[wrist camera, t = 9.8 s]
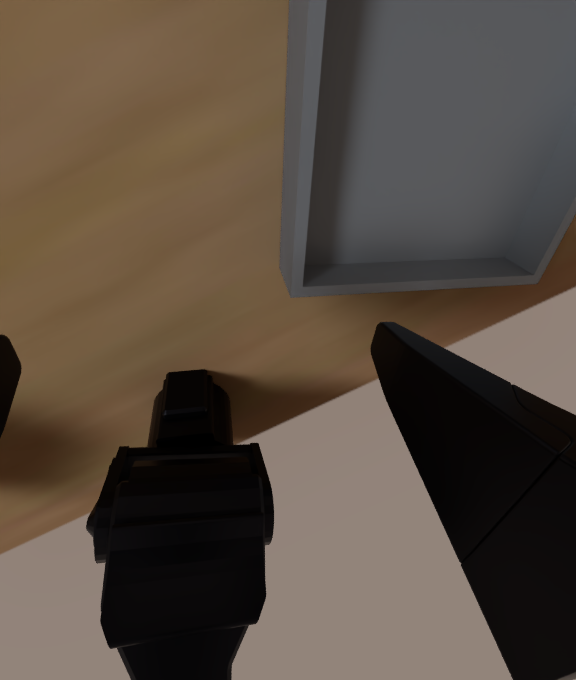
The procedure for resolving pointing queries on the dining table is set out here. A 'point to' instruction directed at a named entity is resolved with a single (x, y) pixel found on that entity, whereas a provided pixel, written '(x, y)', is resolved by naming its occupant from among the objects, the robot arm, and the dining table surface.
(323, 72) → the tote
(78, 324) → the dining table surface
